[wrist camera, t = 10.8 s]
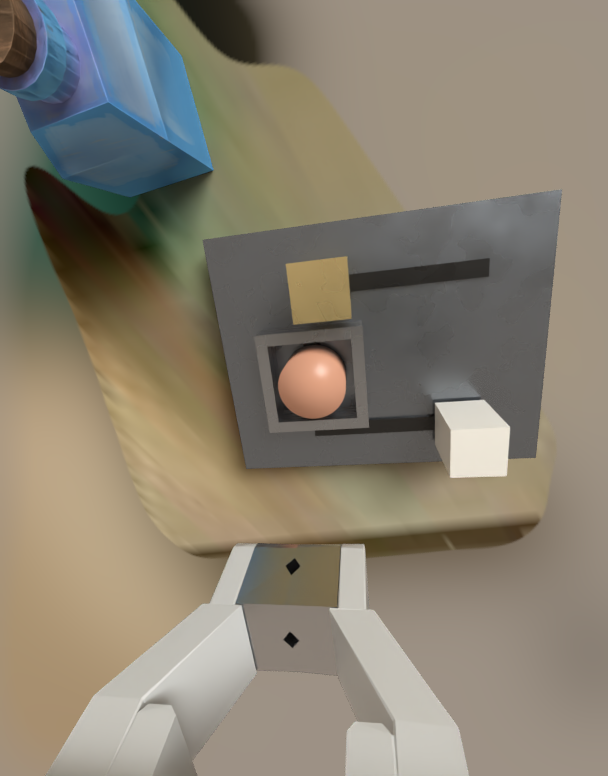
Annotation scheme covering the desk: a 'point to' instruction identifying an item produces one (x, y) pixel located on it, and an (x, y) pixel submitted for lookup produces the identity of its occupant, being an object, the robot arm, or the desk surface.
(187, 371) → the desk surface
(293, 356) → the push button
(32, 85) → the perfume bottle
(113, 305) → the desk surface
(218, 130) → the desk surface
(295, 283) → the brass slider
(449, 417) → the ivory slider
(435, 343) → the console
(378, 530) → the desk surface
